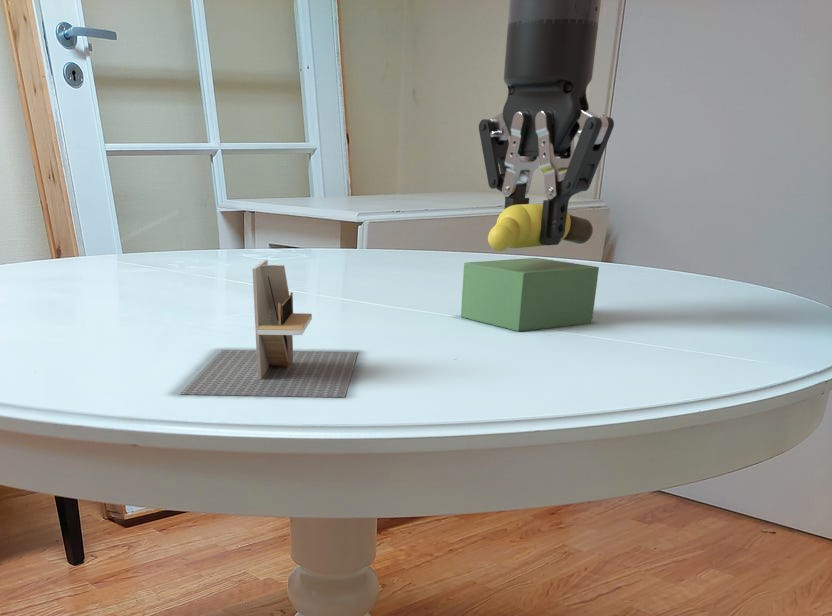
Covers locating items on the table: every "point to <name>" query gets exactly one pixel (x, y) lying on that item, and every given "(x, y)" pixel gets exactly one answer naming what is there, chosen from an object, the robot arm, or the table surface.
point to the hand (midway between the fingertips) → (531, 241)
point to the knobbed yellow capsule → (532, 228)
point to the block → (529, 293)
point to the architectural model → (275, 352)
